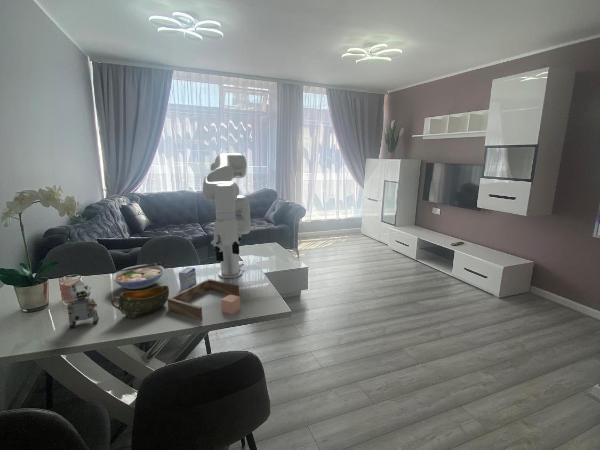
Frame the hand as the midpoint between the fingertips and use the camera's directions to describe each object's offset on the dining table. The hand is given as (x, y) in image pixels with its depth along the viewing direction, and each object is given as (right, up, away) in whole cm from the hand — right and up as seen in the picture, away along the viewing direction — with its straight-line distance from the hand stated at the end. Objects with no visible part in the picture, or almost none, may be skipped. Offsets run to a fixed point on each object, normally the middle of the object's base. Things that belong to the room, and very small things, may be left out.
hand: (228, 257), depth 129 cm
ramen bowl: (-50, -18, +29) cm, 60 cm away
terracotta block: (0, -23, +5) cm, 23 cm away
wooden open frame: (-13, -21, +12) cm, 27 cm away
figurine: (-55, -25, -4) cm, 61 cm away
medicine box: (-26, -18, +29) cm, 42 cm away
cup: (-36, -23, +4) cm, 43 cm away
